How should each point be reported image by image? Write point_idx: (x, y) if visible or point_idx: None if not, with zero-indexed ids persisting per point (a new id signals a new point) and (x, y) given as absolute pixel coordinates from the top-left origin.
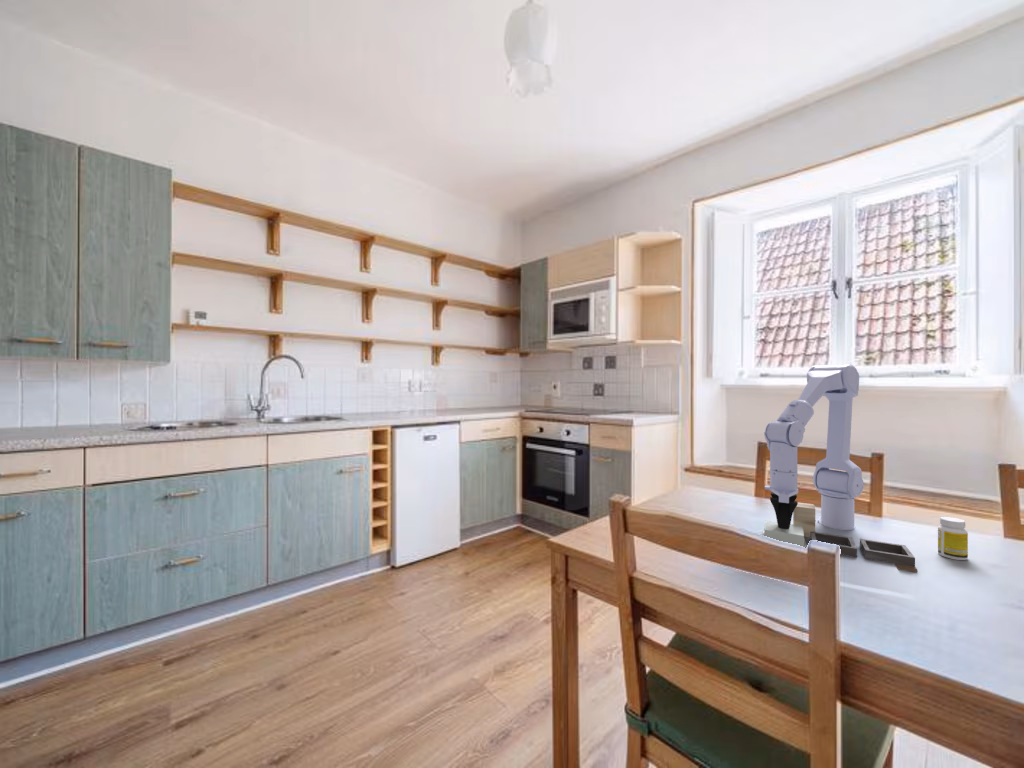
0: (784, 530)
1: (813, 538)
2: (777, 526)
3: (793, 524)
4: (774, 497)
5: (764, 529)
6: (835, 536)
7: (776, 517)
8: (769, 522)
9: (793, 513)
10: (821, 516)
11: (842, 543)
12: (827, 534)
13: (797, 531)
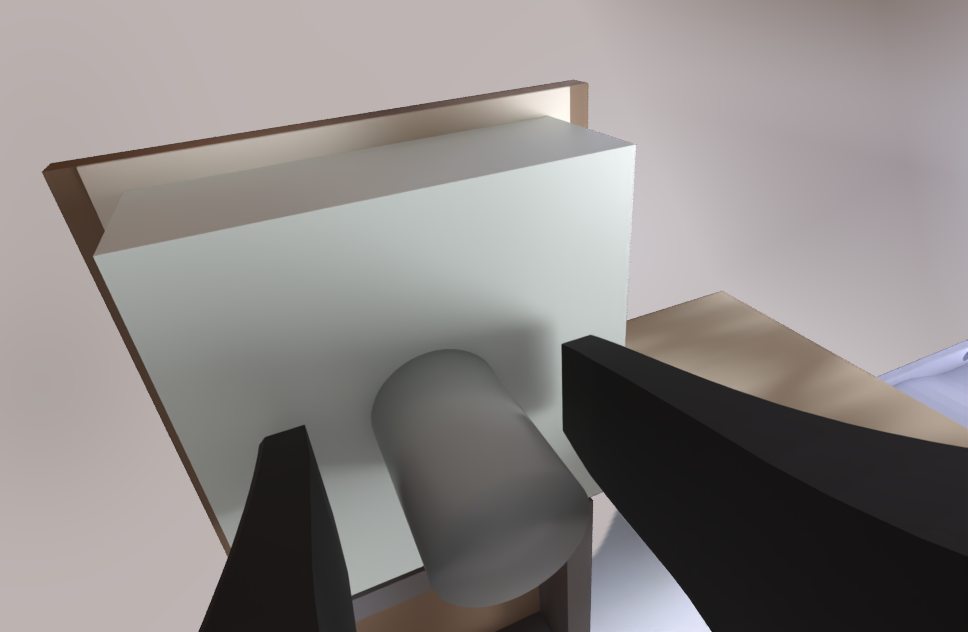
0: (317, 454)
1: (401, 588)
2: (446, 342)
3: (744, 343)
4: (952, 598)
5: (112, 254)
6: (566, 617)
7: (231, 562)
8: (577, 213)
9: (842, 405)
10: (948, 415)
11: (546, 604)
12: (578, 585)
13: (389, 538)
